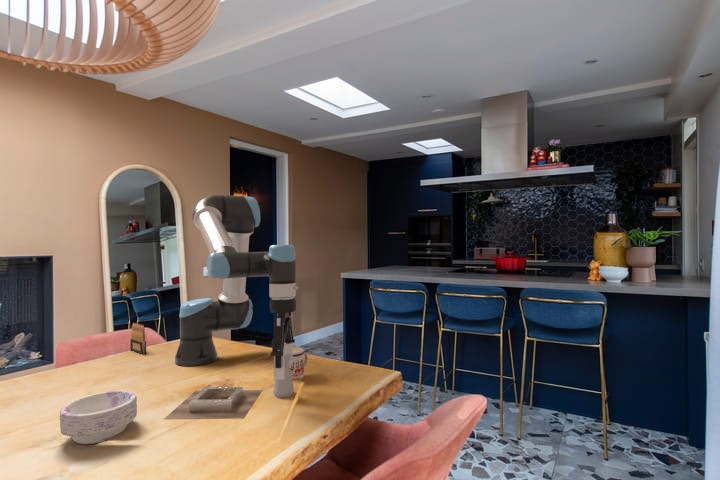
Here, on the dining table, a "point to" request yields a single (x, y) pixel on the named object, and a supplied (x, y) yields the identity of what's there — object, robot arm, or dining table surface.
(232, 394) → the metal collar
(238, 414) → the walnut board
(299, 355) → the teacup with lid
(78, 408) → the paper bowls
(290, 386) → the salt shaker
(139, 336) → the brown flat upright block
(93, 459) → the dining table surface
